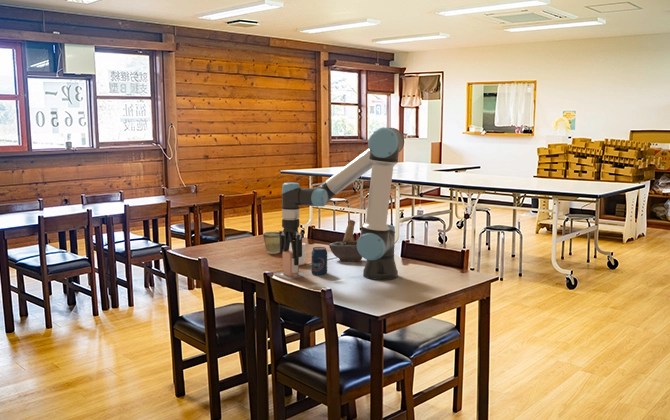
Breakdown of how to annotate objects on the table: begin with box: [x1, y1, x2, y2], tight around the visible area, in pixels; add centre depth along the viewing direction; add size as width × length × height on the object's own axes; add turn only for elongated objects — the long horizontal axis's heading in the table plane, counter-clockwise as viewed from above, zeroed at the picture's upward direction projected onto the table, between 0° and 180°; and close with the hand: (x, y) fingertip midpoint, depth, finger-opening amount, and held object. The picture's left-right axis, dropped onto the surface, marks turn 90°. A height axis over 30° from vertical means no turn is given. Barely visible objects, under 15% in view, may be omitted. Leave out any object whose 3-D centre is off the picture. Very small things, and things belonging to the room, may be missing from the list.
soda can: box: [310, 246, 328, 276], centre depth 274 cm, size 7×7×12 cm
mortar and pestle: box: [328, 219, 363, 262], centre depth 304 cm, size 15×17×20 cm
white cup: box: [289, 242, 307, 266], centre depth 294 cm, size 8×8×10 cm
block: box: [282, 250, 300, 276], centre depth 272 cm, size 5×5×10 cm
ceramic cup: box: [262, 231, 280, 255], centre depth 323 cm, size 13×10×10 cm
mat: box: [273, 271, 308, 280], centre depth 273 cm, size 12×11×1 cm
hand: (290, 271), depth 273 cm, fingers closed on block, 5 cm apart
